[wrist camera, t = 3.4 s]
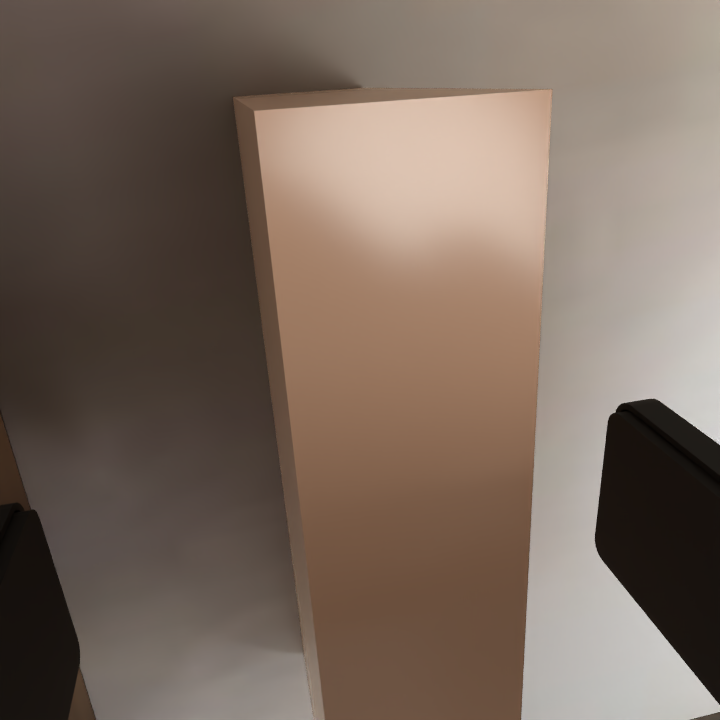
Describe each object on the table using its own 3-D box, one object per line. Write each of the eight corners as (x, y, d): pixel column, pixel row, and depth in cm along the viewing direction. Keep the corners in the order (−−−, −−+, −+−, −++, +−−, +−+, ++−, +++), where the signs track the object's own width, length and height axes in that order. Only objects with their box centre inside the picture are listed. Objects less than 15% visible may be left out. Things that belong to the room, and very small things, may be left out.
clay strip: (392, 632, 18) (507, 990, 11) (303, 650, 18) (361, 1033, 11) (363, 87, 13) (551, 90, 6) (232, 96, 12) (253, 110, 5)
